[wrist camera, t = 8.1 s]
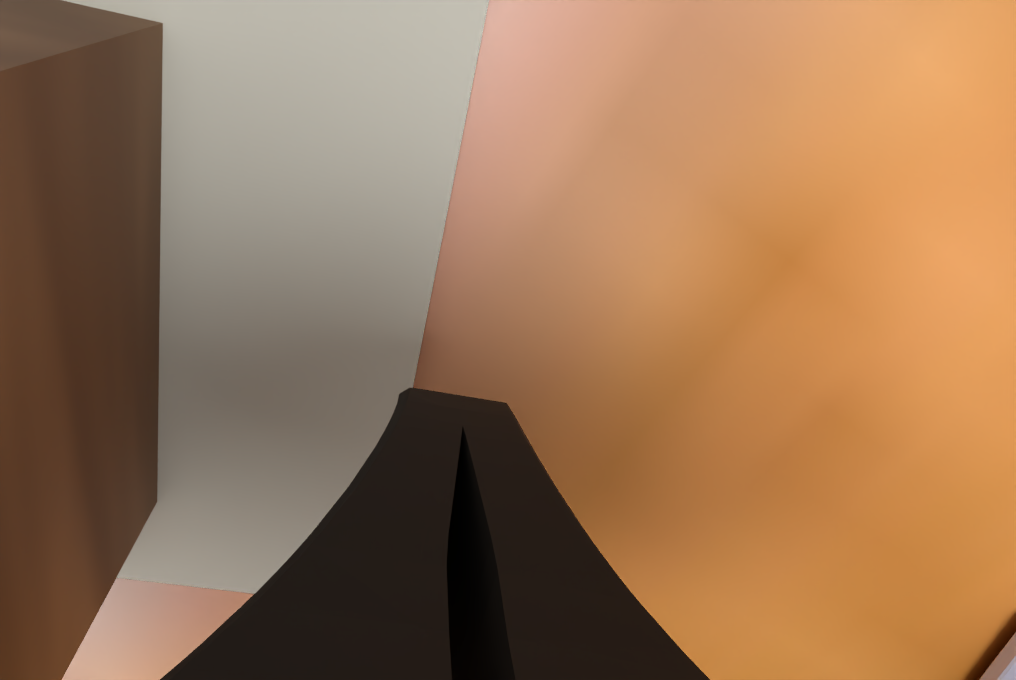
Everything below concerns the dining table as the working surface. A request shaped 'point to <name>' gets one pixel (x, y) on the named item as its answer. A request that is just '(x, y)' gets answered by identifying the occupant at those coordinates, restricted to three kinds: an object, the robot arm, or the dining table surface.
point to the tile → (75, 317)
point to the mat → (291, 258)
